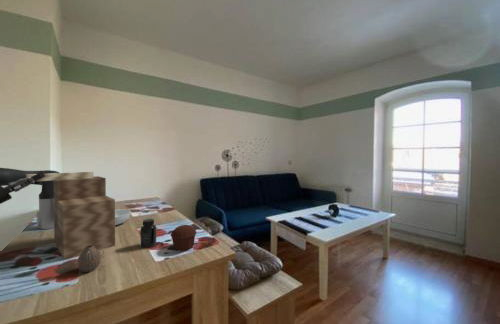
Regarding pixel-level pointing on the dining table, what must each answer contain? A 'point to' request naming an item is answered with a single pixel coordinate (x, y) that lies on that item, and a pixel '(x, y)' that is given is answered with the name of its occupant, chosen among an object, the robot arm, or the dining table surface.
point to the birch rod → (63, 176)
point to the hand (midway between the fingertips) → (42, 174)
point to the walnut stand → (82, 216)
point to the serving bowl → (121, 215)
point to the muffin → (183, 237)
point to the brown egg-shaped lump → (89, 259)
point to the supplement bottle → (148, 233)
